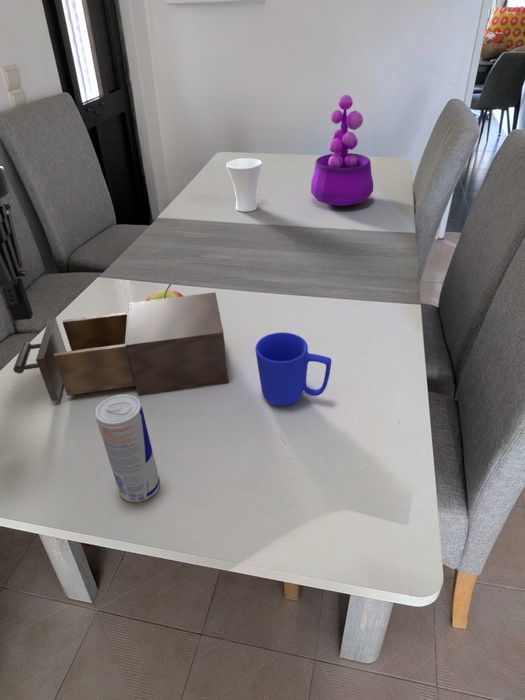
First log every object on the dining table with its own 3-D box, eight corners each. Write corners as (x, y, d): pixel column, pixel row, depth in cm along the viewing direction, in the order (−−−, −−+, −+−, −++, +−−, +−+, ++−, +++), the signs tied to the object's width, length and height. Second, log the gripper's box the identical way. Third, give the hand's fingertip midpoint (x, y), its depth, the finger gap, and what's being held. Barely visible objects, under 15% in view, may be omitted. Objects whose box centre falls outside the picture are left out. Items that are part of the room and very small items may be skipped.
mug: (322, 421, 81) (324, 371, 75) (251, 405, 85) (247, 356, 79) (335, 389, 87) (337, 340, 81) (268, 375, 91) (265, 328, 85)
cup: (254, 216, 152) (251, 169, 144) (223, 212, 156) (219, 166, 148) (269, 204, 160) (267, 159, 152) (239, 200, 164) (236, 156, 156)
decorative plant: (373, 192, 164) (382, 88, 147) (370, 214, 150) (379, 101, 132) (315, 190, 168) (316, 89, 151) (305, 211, 154) (306, 101, 136)
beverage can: (167, 491, 71) (148, 410, 62) (129, 511, 69) (104, 430, 60) (150, 466, 75) (130, 387, 66) (113, 484, 73) (88, 404, 64)
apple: (194, 334, 102) (188, 290, 97) (152, 344, 100) (143, 300, 95) (185, 314, 109) (178, 272, 103) (145, 323, 107) (136, 280, 101)
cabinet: (138, 395, 88) (125, 345, 82) (140, 350, 99) (129, 302, 93) (228, 382, 90) (223, 332, 84) (220, 339, 101) (215, 292, 95)
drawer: (20, 406, 86) (2, 364, 81) (34, 362, 96) (19, 322, 91) (139, 389, 88) (128, 347, 83) (140, 348, 98) (131, 308, 93)
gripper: (-14, 181, 64) (38, 337, 78) (12, 153, 75) (54, 295, 89) (-77, 185, 63) (-13, 342, 77) (-42, 156, 74) (9, 299, 88)
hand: (23, 317), depth 83 cm, fingers closed
